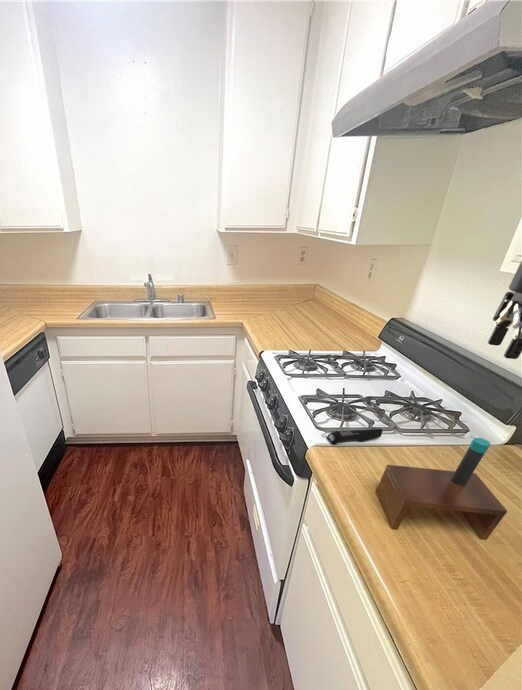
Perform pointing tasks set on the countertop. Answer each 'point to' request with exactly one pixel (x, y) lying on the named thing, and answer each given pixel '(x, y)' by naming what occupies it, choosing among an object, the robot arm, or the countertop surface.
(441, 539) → the countertop surface
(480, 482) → the shelf
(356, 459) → the countertop surface
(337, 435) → the electric trimmer
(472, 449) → the marker
